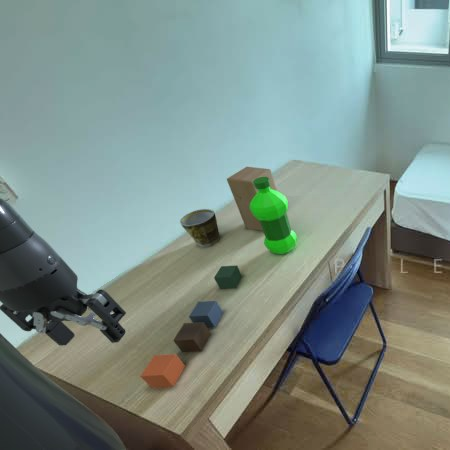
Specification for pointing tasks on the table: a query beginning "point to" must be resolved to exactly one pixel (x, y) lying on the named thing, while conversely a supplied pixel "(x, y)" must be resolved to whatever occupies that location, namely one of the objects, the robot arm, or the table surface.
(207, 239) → the ceramic cup
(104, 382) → the table surface
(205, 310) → the block
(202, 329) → the block
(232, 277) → the block
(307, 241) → the table surface
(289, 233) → the plastic bottle
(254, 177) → the wooden block
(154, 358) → the block
